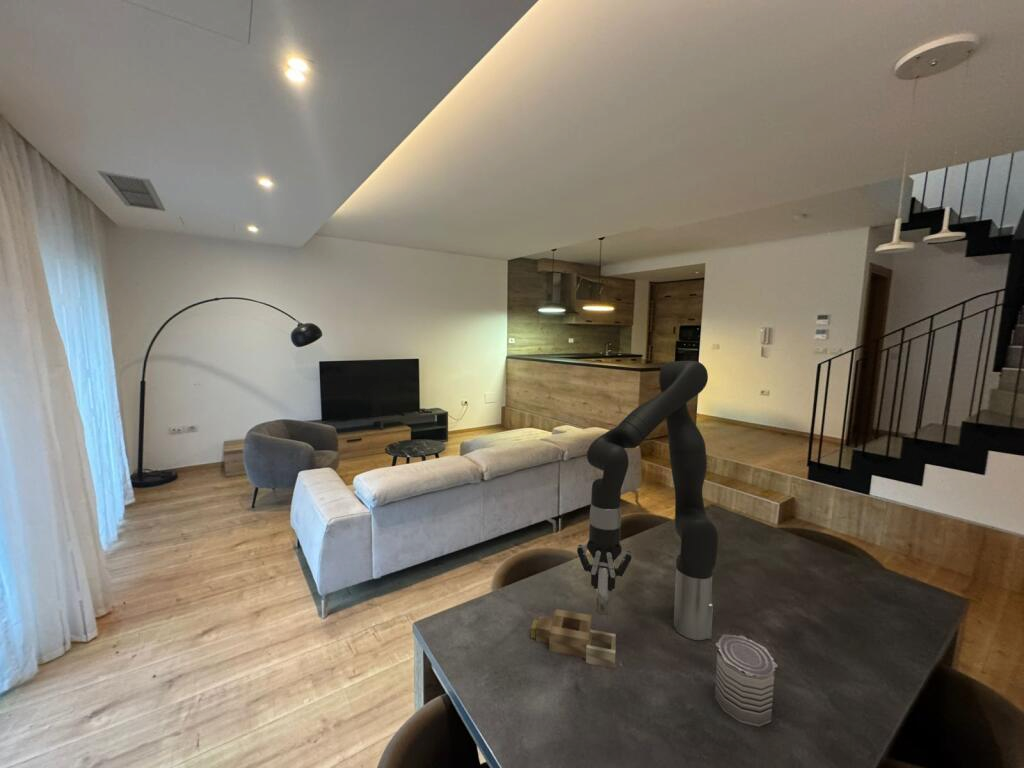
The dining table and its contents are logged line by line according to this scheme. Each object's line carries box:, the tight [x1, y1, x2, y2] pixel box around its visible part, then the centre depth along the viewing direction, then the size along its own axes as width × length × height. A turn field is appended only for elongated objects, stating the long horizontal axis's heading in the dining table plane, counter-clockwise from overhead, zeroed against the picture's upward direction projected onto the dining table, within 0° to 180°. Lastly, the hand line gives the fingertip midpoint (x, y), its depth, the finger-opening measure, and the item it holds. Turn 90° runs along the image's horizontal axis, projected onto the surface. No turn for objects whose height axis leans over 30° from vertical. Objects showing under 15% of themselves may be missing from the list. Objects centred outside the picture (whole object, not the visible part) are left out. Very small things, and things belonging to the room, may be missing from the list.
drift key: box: [530, 619, 539, 639], centre depth 110 cm, size 8×4×3 cm, turn 75°
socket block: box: [535, 608, 593, 659], centre depth 109 cm, size 14×10×5 cm
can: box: [714, 633, 779, 728], centre depth 89 cm, size 11×11×12 cm
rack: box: [585, 628, 617, 669], centre depth 103 cm, size 7×7×4 cm
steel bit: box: [595, 562, 610, 616], centre depth 102 cm, size 3×3×12 cm
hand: (602, 587), depth 102 cm, fingers closed on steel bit, 3 cm apart
